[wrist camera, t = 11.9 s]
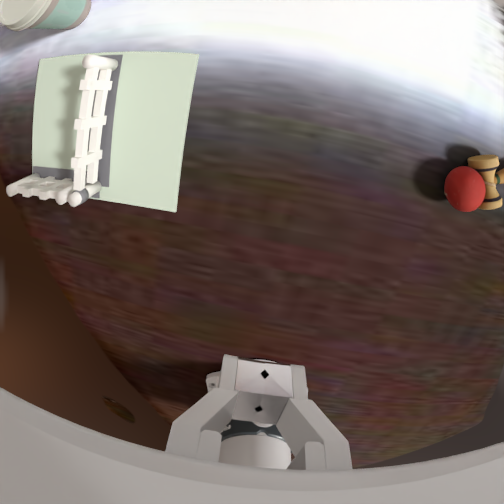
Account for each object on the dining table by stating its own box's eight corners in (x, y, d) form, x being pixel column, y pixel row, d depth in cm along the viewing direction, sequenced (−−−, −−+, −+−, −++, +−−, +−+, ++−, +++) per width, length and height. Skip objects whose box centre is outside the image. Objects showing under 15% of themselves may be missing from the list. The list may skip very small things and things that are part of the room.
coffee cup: (108, -17, 25) (60, -44, 14) (88, 39, 29) (31, 27, 18) (62, -13, 24) (10, -31, 14) (44, 38, 28) (-13, 32, 17)
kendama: (512, 135, 32) (435, 157, 33) (541, 150, 27) (466, 176, 28) (510, 179, 36) (436, 208, 38) (536, 196, 31) (463, 232, 32)
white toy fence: (101, 193, 38) (78, 208, 32) (90, 191, 38) (67, 206, 32) (120, 59, 30) (96, 54, 24) (107, 59, 30) (82, 54, 24)
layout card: (176, 211, 39) (175, 212, 39) (34, 189, 38) (32, 190, 38) (199, 54, 30) (198, 54, 30) (41, 59, 29) (39, 59, 29)
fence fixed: (90, 178, 37) (65, 192, 31) (90, 190, 38) (65, 205, 32) (33, 172, 37) (5, 184, 31) (33, 182, 37) (6, 196, 32)
